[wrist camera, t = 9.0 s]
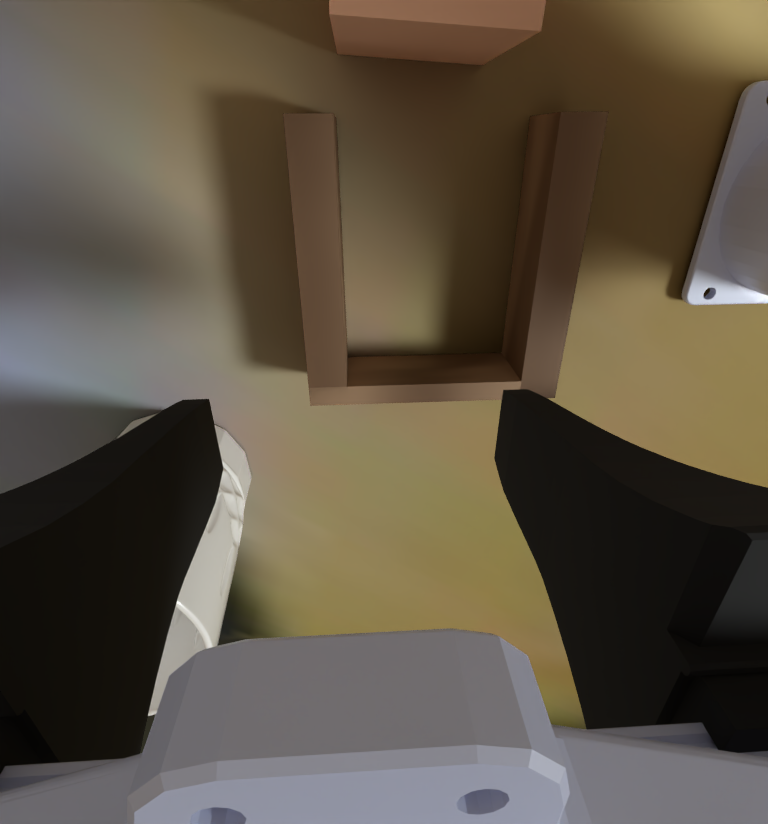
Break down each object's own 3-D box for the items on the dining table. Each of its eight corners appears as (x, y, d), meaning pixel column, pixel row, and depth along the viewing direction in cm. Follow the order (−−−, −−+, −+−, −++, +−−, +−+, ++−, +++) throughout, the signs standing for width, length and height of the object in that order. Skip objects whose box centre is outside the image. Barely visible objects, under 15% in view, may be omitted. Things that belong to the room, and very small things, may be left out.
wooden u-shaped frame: (570, 115, 17) (608, 111, 15) (531, 367, 22) (554, 397, 20) (293, 117, 17) (283, 113, 14) (315, 374, 22) (310, 405, 19)
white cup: (63, 447, 23) (-112, 631, 14) (192, 370, 22) (82, 523, 13) (176, 548, 27) (90, 744, 18) (293, 488, 25) (261, 671, 16)
